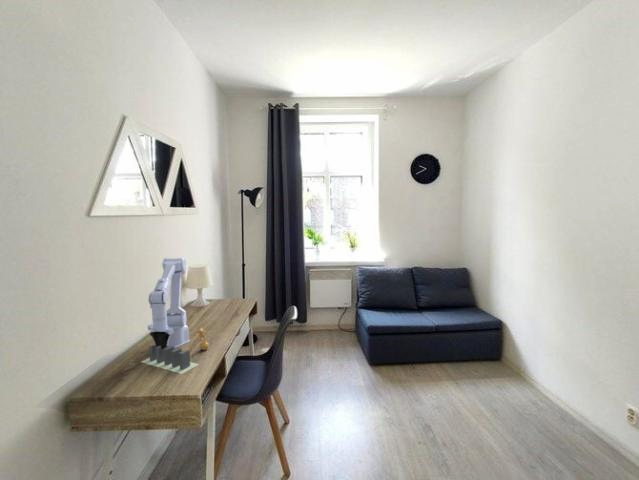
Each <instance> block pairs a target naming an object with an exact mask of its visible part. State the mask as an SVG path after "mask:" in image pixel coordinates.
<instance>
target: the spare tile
mask: <svg viewBox="0 0 639 480" xmlns="http://www.w3.org/2000/svg"><path fill="white" fill-rule="evenodd" d="M167 347H168V346H166V347H165V348H167ZM165 348H163V349H161V346H158V347H156V355H157V363H162V362H164V349H165Z"/></svg>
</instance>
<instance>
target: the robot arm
mask: <svg viewBox="0 0 639 480" xmlns="http://www.w3.org/2000/svg"><path fill="white" fill-rule="evenodd" d="M161 265H162V266H161V267H162V269H163V272H162V276H161V278H159V279H158V280H157V283H156V284H155V287H154V289H153V291H151V292H149V294H148V304H149V306H150V309H151V316H152V318H151V319H152V323H151V324H148V325H147V330H148V331H150V333H149V336H151V337H152V339H153V341H154V343H155V344H156V347H158V346H161V349H163V348H165V347H170V346H174V349H177V348H180V346H182V345H185V344H187V343H189V342H190V343H191V340H190V332H189V331H190V330H189V327H188V325H187V321H188V320H187V319H188V317H187V311H186V310H185V309H184V308H182V307H181V304H182V280H183V276H184V275H185V274H186V271H187V270H186V269H187V261H186V259H185V258H184V257H172V258H171V257H170V258H169V257H168V258H167V257H166V258H163V260H162V264H161ZM170 287H171V288H170ZM169 290H170V303H169V304H170V306H169V308H168V309H167V303H168V299H169Z"/></svg>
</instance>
